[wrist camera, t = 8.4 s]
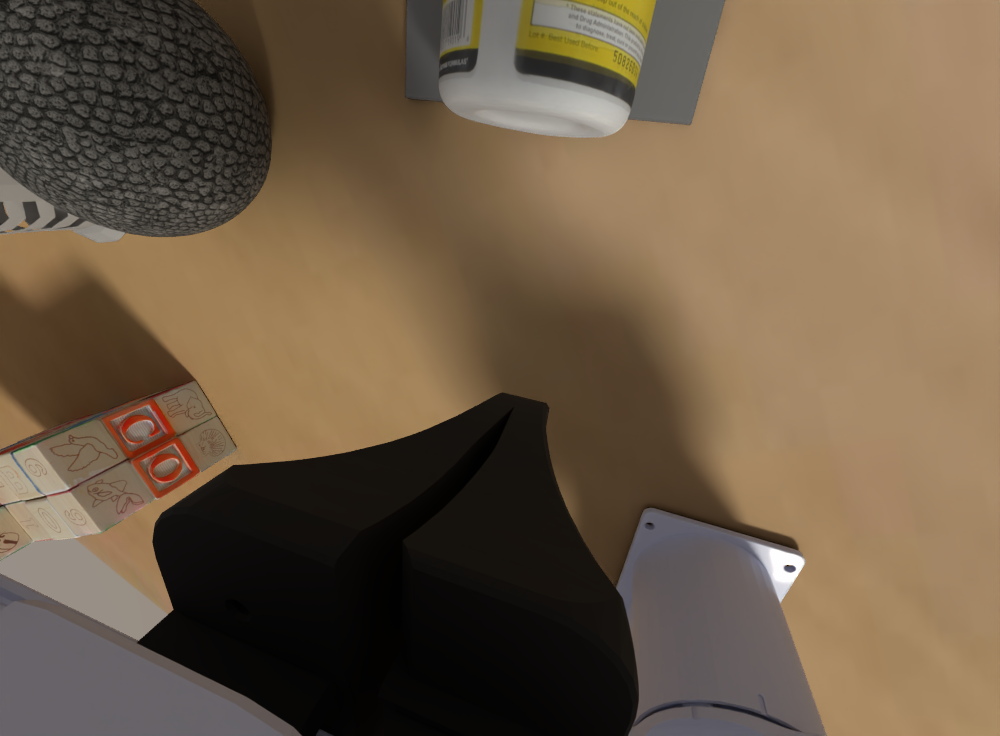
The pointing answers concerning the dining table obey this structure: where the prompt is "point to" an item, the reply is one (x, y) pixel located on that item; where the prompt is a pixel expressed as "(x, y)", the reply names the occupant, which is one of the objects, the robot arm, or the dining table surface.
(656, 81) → the mat
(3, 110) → the decorative ball
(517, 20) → the pill bottle
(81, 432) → the stack of blocks
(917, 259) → the dining table surface
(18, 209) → the french press
